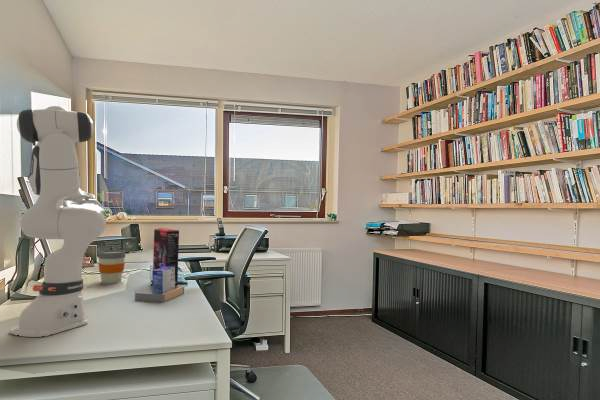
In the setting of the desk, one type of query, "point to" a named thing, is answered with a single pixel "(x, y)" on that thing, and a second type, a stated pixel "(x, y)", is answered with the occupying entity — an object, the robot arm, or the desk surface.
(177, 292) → the u-shaped bracket
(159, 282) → the ink cartridge box
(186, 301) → the desk surface
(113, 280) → the reusable coffee cup
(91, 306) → the desk surface
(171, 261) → the graphics card box
